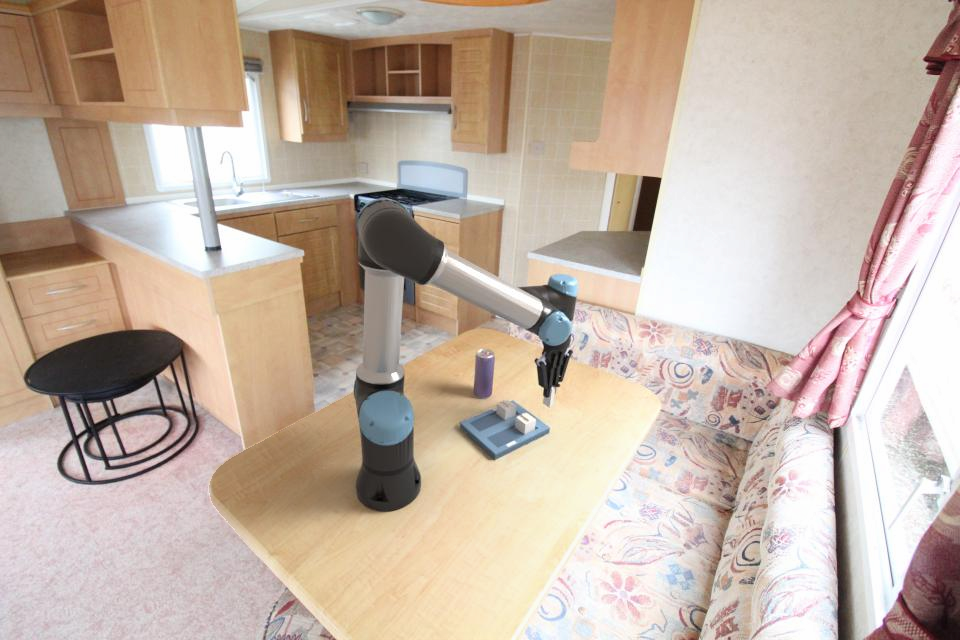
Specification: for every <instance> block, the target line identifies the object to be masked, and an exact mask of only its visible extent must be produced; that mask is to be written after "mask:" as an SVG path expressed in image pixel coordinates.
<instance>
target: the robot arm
mask: <svg viewBox="0 0 960 640" xmlns="http://www.w3.org/2000/svg"><path fill="white" fill-rule="evenodd" d="M355 225H356V226H355V228H356V231H357V233H358V250H357V252H358V253H357V254H358V255H357V259H358V260H357V262H358V263H357V264H358V265H359V266H360V267H361V268H363V270H364V302H363V303H364V304H363V305H364V307H363V335H362V336H363V337H362V338H363V340H362V342H363V343H362V345H363V346H362V362H361V363H360V364H359V365H358V366H357V367H356V370H355V380H354V385H353V396H354V400H355V406H356V413H357V418H358V426H359V432H360V434H359V435H360V444H361V445H360V447H361V458H362V459H361V460H362V461H361V462H362V463H361V465H360V468H359V471H358V475H357V478H356V482H355V488H356V489H355V490H356V496H357V499H358V500H359V501H360V503H362V504H363V505H364V506H365V507H367V508H368V509H371V510H374V511H378V512H391V511H396V510H397V511H398V510H399V509H403V508H406V506H408V505H410V504H411V503H412V502H414V500H416V498H417V497H418V496H419V494H420V492H421V488H422V476H421V475H422V474H421V471H420V470H419V468H418V465H417V463H416V460H415V458H414V454H415V452H414V443H415V442H414V438H415V436H414V425H415V414H414V412H415V411H414V408H413V405H412V403H411V401H410V399H409V398H408V397H407V396H405V394H404V390H405V389H404V388H405V373H406V372H405V368H404V366H403V365H402V364H401V363H400V354H401V352H400V351H401V338H402V337H401V335H402V319H403V302H404V290H405V289H404V285H405V279H407V280H409V281H412V282H413V283H416V284H417V285H420V286H424V287H425V286H427V285H429V284H430V285H432V286H434V287H436V288H438V289H440V290H443V291H444V292H447V293H449V294H451V295H453V296H455V297H458V298H459V299H461V300H463V301H465V302H467V303H469V304H472V305H473V306H476V307H479V308H480V309H482V310H484V311H486V312H489V313H490V314H492V315H494V316H497V317H499V318H501V319H504V320H506V321H507V322H510V323H512V324H513V325H516V326H518V327H519V328H522V329H524V330H525V331H528V332H529V333H532V334H534V335H536V336H537V337H538V338H539V339H540V340H541V344H542V345H543V346H542V347H543V349H542V350H541V356H540V357H539V358H537V357H536V358H534V363H535V365H536V371H537V382H538V386H539V387H541V388H543V393H542V397H543V400H542V405H545V406H546V407H548V409H551V408H553V407H554V403H555V395H556V393H557V388H560V387H561V384H559V383H563V381H564V377H565V375H566V372H567V368H568V366H569V362H570V358H571V357H572V354H573V353H574V351H573V350H572V349H571V348H569V347H570V345H571V339H572V338H571V337H572V331H573V330H572V329H573V322H574V316H575V311H576V305H577V304H576V302H577V298H578V289H579V287H578V282H579V281H578V280H577V279H576V278H575V277H574V276H572V275H569V274H563V273H556V274H553V275H552V274H551V275H550V276H549V278H548V281H547V284H543V285H528V286H516V285H514V284H512V283H510V282H508V281H507V280H504V279H502V278H501V277H499V276H497V275H495V274H493V273H491V272H489V271H488V270H486V269H484V268H482V267H480V266H478V265H476V264H474V263H473V262H470V261H468V260H467V259H465V258H463V257H461V256H460V255H458V254H456V253H454V252H452V251H450V250H449V249H447V246H446V243H445V242H444V241H443V240H440V239H439V238H437V237H435V236H434V235H432V234H431V233H430V232H428V231H427V230H426V229H425V228H424V227H423V226H421V225H420V223H419V222H418V221H417V220H415V218H414V217H413V216H412V215H411V213H410V211H409V210H408V209H407V207H405V205H404V204H402V203H400V202H399V201H397V200H394V199H391V198H386V197H385V198H384V197H380V198H376V199H375V198H374V199H372V200H370V201H369V202H367V203H366V204H364V205H363V207H362V208H361V209H360V211H359V213H358V216H357V218H356V224H355Z"/></svg>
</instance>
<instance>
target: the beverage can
mask: <svg viewBox="0 0 960 640" xmlns="http://www.w3.org/2000/svg"><path fill="white" fill-rule="evenodd" d="M495 358H496V356H495V351H493V350H491V349H488V348H481V349H478V350H477V351H476V354H475V362H474V374H473V375H474V376H473V377H474V380H473V394H474V396H475V397H476V398H478V399H481V400H482V399H483V400H485V399H488V398H490V397H491V396H492V395H493V386H494V374H495V373H494V372H495V362H496V361H495V360H496V359H495Z"/></svg>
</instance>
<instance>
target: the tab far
mask: <svg viewBox="0 0 960 640" xmlns="http://www.w3.org/2000/svg"><path fill="white" fill-rule="evenodd" d="M511 401H512V400H509V399H508V398H507V399H503V400H502V401H500V402H497V403H496V407H497V411H496V414H498V415H499V416H500V417H502V418H503V419H504V420H507V419H509V418H511V417H514V416H515V414H516V405H515V404H513V403H512V402H511Z"/></svg>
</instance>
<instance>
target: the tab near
mask: <svg viewBox="0 0 960 640" xmlns="http://www.w3.org/2000/svg"><path fill="white" fill-rule="evenodd" d="M535 425H536V419H535V418H533V417H532V416H531V415H529V414H528V413H527V412H526V413H523V414H521V415H520V416H517V417H516V422H515V428H517V429H518V430H519V431H520V432H522V433H523V434H524V435H525V434H527V433H529V432H531V431H533V430H535Z"/></svg>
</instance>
